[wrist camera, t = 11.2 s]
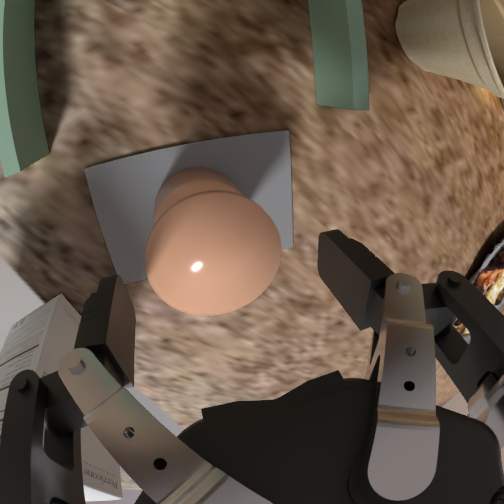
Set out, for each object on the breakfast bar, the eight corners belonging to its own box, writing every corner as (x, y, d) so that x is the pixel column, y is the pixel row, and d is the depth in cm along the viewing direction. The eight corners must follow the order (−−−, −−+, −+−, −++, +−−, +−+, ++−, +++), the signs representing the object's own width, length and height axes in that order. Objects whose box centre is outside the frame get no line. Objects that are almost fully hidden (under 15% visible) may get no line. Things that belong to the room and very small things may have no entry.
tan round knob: (240, 154, 16) (278, 183, 11) (248, 241, 19) (283, 298, 14) (139, 173, 15) (128, 213, 10) (161, 261, 18) (165, 327, 13)
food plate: (498, 204, 27) (518, 216, 24) (527, 239, 36) (539, 248, 33) (407, 354, 37) (420, 370, 34) (464, 342, 46) (473, 353, 43)
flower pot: (406, -34, 11) (491, -48, 4) (465, 48, 16) (543, 61, 8) (354, 21, 13) (459, 6, 6) (427, 112, 18) (518, 140, 11)
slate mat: (287, 129, 16) (289, 130, 16) (291, 245, 21) (292, 246, 20) (84, 168, 14) (84, 169, 14) (121, 283, 18) (121, 285, 18)
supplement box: (122, 351, 21) (128, 501, 11) (65, 376, 21) (56, 502, 10) (62, 288, 17) (21, 458, 7) (8, 323, 17) (-31, 459, 6)
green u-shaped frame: (311, -64, 9) (342, -86, 6) (330, 104, 16) (369, 110, 13) (24, -26, 6) (-2, -45, 3) (36, 158, 13) (5, 177, 9)
